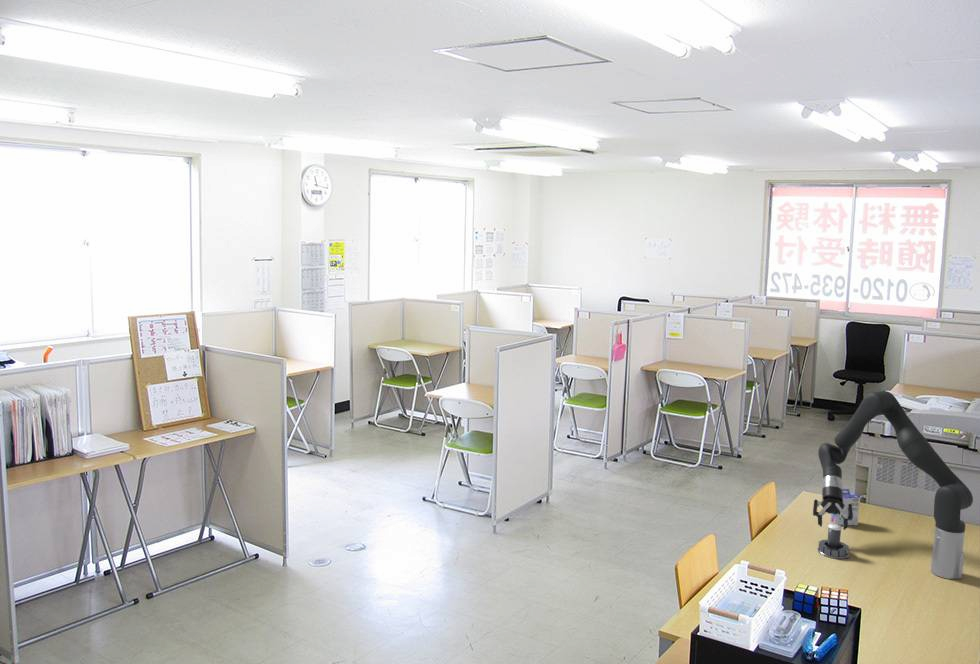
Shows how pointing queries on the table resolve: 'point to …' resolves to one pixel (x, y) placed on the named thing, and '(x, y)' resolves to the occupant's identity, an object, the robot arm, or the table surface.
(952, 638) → the table surface
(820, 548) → the dark grey ridged ring
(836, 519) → the ink cartridge box
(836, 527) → the tube
